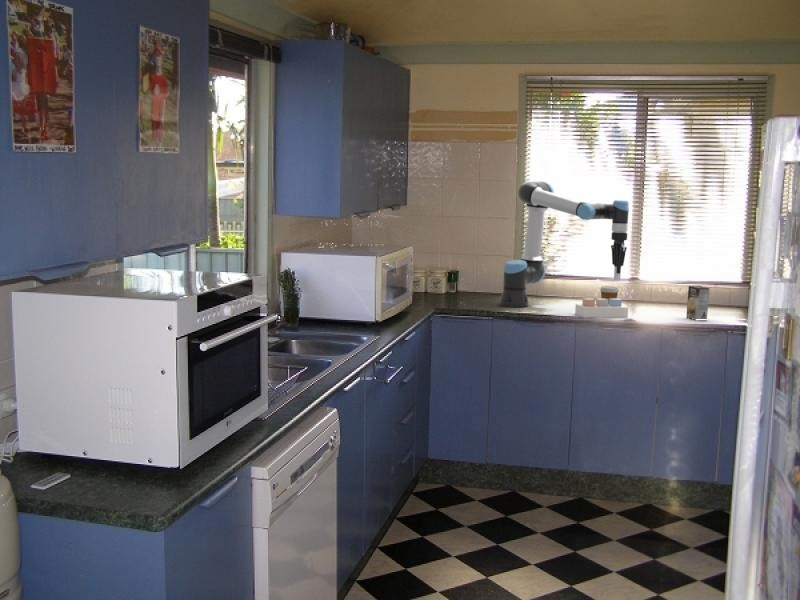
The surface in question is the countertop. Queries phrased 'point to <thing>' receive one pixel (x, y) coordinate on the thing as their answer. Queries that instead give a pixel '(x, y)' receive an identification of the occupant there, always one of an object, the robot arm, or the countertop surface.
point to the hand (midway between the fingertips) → (617, 279)
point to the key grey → (601, 302)
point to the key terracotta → (588, 302)
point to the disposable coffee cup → (609, 292)
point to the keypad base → (601, 311)
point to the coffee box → (697, 302)
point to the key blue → (615, 302)
